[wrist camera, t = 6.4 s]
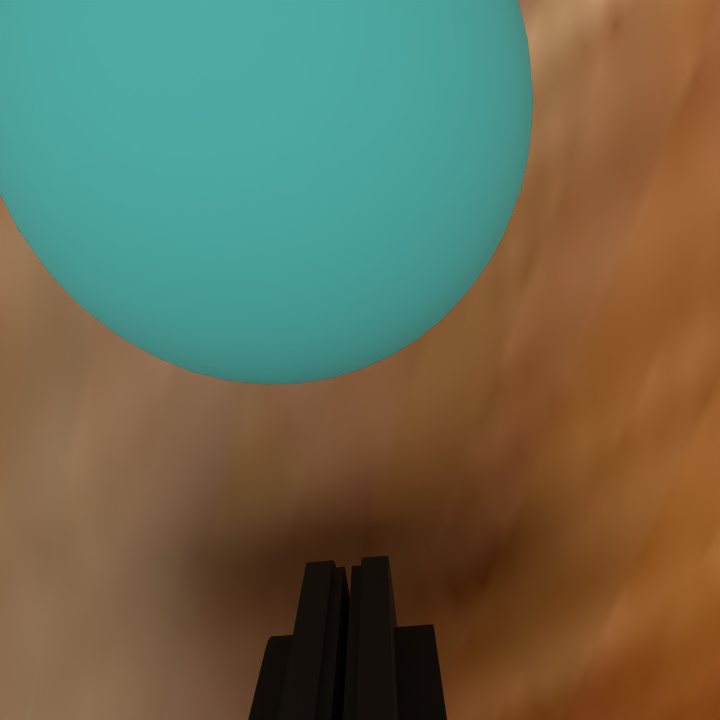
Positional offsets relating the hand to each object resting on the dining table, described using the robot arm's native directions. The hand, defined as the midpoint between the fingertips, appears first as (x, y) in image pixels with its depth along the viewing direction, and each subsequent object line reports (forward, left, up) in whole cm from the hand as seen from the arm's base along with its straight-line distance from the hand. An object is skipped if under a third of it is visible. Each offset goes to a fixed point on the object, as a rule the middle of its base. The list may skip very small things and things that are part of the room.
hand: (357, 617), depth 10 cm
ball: (+9, 0, +2) cm, 9 cm away
